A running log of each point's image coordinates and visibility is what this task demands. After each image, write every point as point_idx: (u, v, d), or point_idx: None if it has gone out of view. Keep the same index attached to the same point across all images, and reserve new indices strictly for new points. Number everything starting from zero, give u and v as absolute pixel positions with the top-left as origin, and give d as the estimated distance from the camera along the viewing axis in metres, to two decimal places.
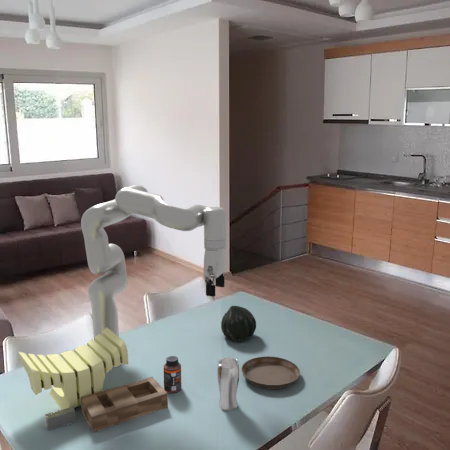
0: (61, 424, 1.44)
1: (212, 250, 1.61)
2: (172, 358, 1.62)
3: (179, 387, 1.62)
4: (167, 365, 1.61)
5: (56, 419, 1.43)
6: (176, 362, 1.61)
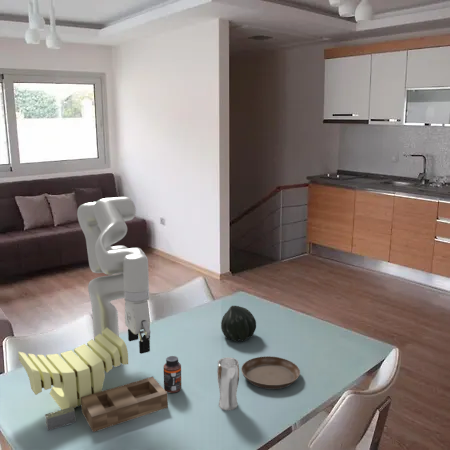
0: (61, 424, 1.44)
1: (143, 302, 1.45)
2: (172, 358, 1.62)
3: (179, 387, 1.62)
4: (167, 365, 1.61)
5: (56, 419, 1.43)
6: (176, 362, 1.61)
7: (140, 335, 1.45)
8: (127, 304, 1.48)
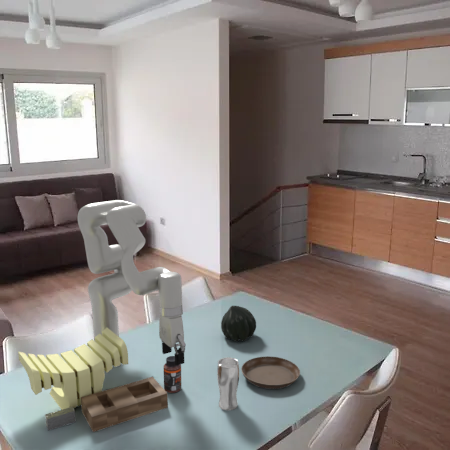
0: (61, 424, 1.44)
1: (177, 317, 1.55)
2: (172, 358, 1.62)
3: (179, 387, 1.62)
4: (167, 365, 1.61)
5: (56, 419, 1.43)
6: None
7: (175, 348, 1.55)
8: (162, 319, 1.58)
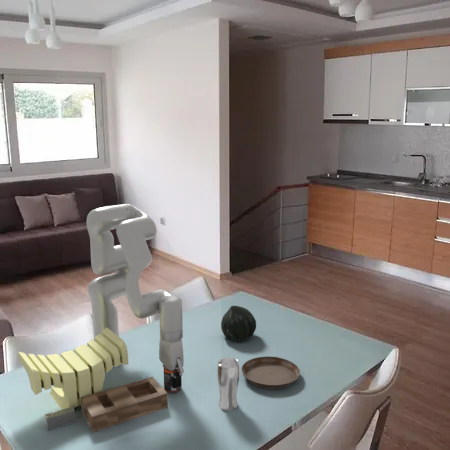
0: (61, 424, 1.44)
1: (178, 341, 1.57)
2: None
3: (179, 387, 1.62)
4: None
5: (56, 419, 1.43)
6: None
7: (174, 372, 1.58)
8: (162, 342, 1.60)
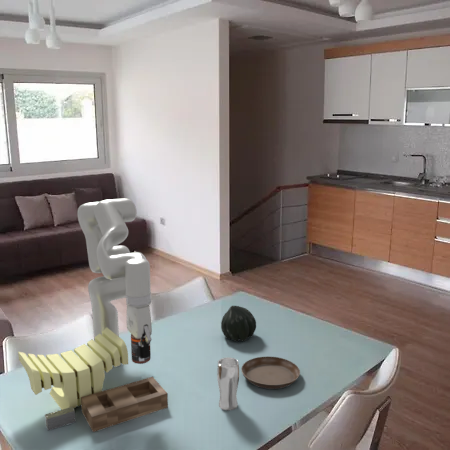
0: (61, 424, 1.44)
1: (145, 307, 1.45)
2: None
3: (148, 358, 1.50)
4: None
5: (56, 419, 1.43)
6: None
7: (141, 341, 1.47)
8: (129, 309, 1.48)
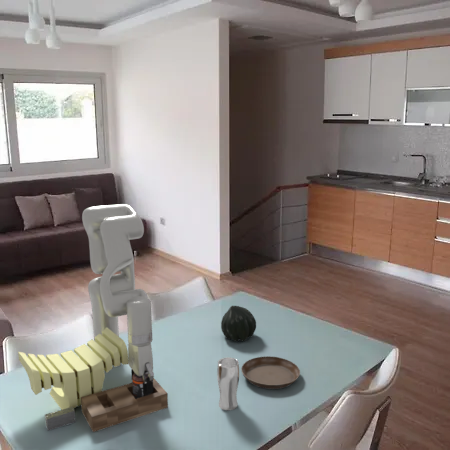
0: (60, 424, 1.44)
1: (146, 345, 1.48)
2: None
3: None
4: (136, 375, 1.52)
5: (55, 419, 1.43)
6: (145, 372, 1.52)
7: (144, 377, 1.48)
8: (131, 346, 1.51)
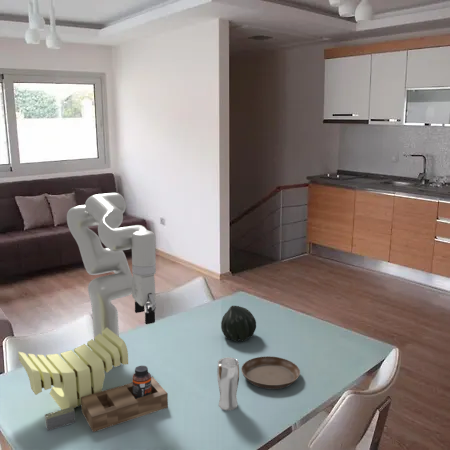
0: (60, 424, 1.44)
1: (149, 276, 1.54)
2: (142, 368, 1.53)
3: None
4: (136, 375, 1.52)
5: (55, 419, 1.43)
6: (145, 372, 1.52)
7: (146, 307, 1.54)
8: (135, 278, 1.57)
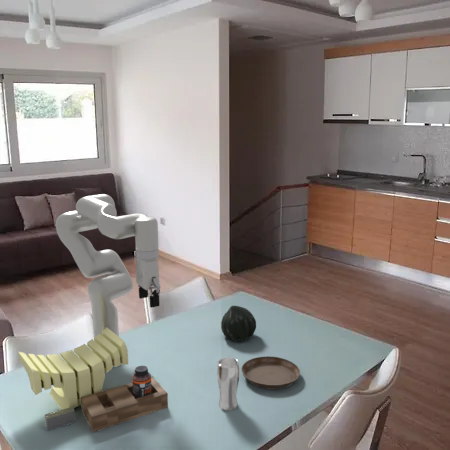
0: (60, 424, 1.44)
1: (153, 260, 1.59)
2: (142, 368, 1.53)
3: None
4: (136, 375, 1.52)
5: (55, 419, 1.43)
6: (145, 372, 1.52)
7: (151, 290, 1.60)
8: (138, 263, 1.62)
